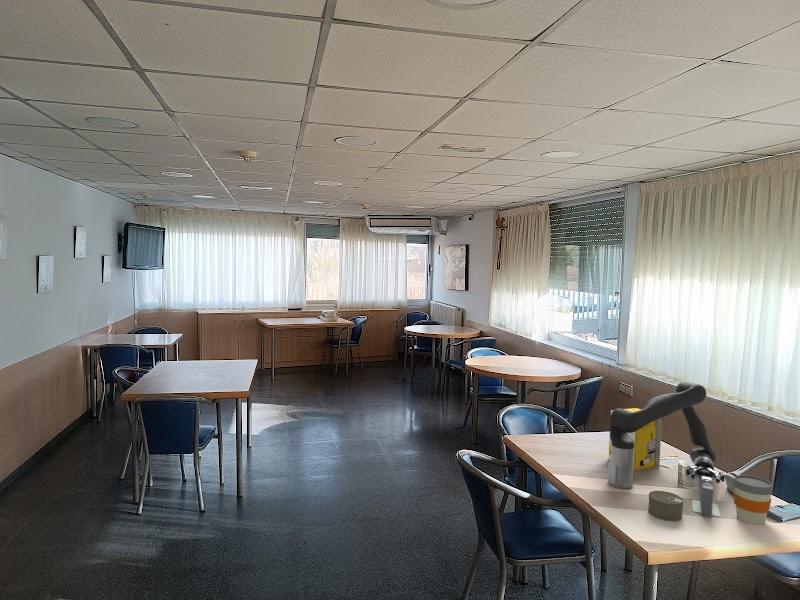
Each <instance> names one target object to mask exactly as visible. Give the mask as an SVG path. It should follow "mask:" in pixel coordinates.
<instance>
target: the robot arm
mask: <svg viewBox="0 0 800 600" xmlns="http://www.w3.org/2000/svg"><path fill="white" fill-rule="evenodd" d="M675 390H676V391H675V392H673V393H664V394H659V395H657V396H654V397H651V398H649V399H648V400H646V403H645V405H644V408H642V409H641V410H639V411H636V412H631V411H628V410H624V409H625V408H620V407H618V408H615V409H613V410H614V411H613V412H612V414H611V413H610V417H609V440H610V439H611V460H609V461H608V466H607V468H608V469H607V483H608V484H610V485H611V484H612V485H613V486H612V485H611V486H612V487H614V488H618V489H631V488H632V487H633V482H634V481H633V480H634V479H633V478H634V476H633V475H634V471H633V460H634V441H633V440H632V439H631V438H630V437H629V436H628V434H627V433H633V432H636V431H637V430H639V429H641V428H642V427H644V426H646V425H647V424H649V423H651V422H653V421H655V420H658V419H660V418H664V417H667V416H669V415H671V414H673V413H676V412H678V411H680V410H681V411H682V413H683V416H684V419H685V421H686V424H687V427H688V432H689V437H690V441H691V443H692V444H693V446H697V448H692V449H690V451H689V457H690V460H691V462H692V463H693V464H694V465H695V466H697V467H694V465H693V467H691V466H690V465H686V468H685V470H686V471H685V475H686V476H690V478H692V480H695V478H701V479H702V476H705V477H711V478H712V481H715V483H716V484H720V483H721V482H725V474H724V472H723V470H720V471H716V470H715V466H714V463H715V462H716V460H717V457H716V453H715V452H714V449H713V448H712V445H711V443H710V442H709V438H708V433H707V429H706V426H705V424H704V422H703V420H702V418H700V416H699V414H698V413H697V412H696V410H695V408H694V406H695V405H700V404H701V403H702V402H704V400H705V399H706V398H707V397H706V396H707V389H706V388H705V387H704V386H703V385H701V384H700V383H699V384H698V383H694V382H689V381H688V382H686V381H682V382H679V383H678V384H677V385H676V389H675ZM700 447H701V448H700Z"/></svg>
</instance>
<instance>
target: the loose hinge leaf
mask: <svg viewBox="0 0 800 600" xmlns="http://www.w3.org/2000/svg"><path fill="white" fill-rule="evenodd" d="M700 481H701V483H700V500H699V501H700V505H701V503H702V485H703V483H709V484H711V485H713V480H712V478H711V477H705V476H702V478H701V479H700Z"/></svg>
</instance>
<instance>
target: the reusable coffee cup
mask: <svg viewBox="0 0 800 600" xmlns="http://www.w3.org/2000/svg"><path fill="white" fill-rule="evenodd" d="M733 485H734V492H732V493H733V502H734V505H735V511H736V518H737V519H738V520H739V521H741V522H744V523H746V524H749V525H752V526H753V525H754V526H764V525H765V524H766V519H767V514H768V513H769V512H770V508H771V503H772V498H771V497H772V494H773V493H774V492H773V490H774V489H773V484H772V483H771V482H770V481H769V480H766V479H764V478H761V477H758V476H753V475H746V474H740V475H737V476H735V477H734V482H733Z"/></svg>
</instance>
